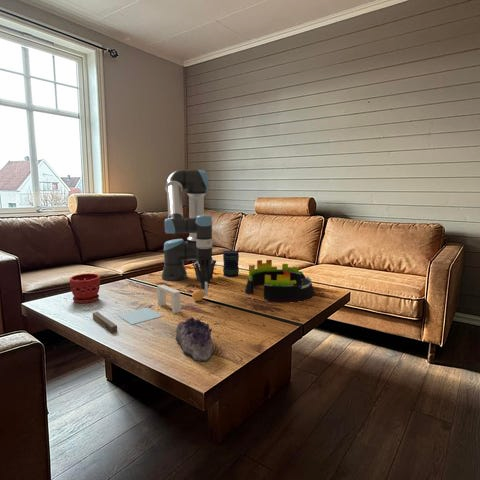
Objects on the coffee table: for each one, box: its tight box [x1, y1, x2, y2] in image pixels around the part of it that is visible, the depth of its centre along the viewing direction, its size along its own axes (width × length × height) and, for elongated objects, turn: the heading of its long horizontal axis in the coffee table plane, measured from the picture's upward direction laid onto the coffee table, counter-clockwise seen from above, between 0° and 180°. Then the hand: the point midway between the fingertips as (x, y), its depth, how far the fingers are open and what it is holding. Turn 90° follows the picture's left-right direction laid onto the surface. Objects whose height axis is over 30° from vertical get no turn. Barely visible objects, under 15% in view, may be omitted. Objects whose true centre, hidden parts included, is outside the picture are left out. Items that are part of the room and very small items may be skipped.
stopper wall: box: [92, 311, 118, 334], centre depth 135 cm, size 2×20×2 cm, turn 42°
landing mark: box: [117, 307, 163, 326], centre depth 145 cm, size 14×14×1 cm
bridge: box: [157, 284, 182, 314], centre depth 154 cm, size 3×14×9 cm, turn 42°
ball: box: [191, 289, 205, 302], centre depth 165 cm, size 6×6×6 cm
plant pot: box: [69, 273, 101, 304], centre depth 164 cm, size 13×13×12 cm
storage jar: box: [222, 250, 240, 278], centre depth 214 cm, size 10×10×15 cm
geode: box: [175, 317, 214, 363], centre depth 115 cm, size 20×12×10 cm, turn 25°
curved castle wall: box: [244, 259, 316, 304], centre depth 179 cm, size 37×37×15 cm
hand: (204, 295), depth 167 cm, fingers closed
